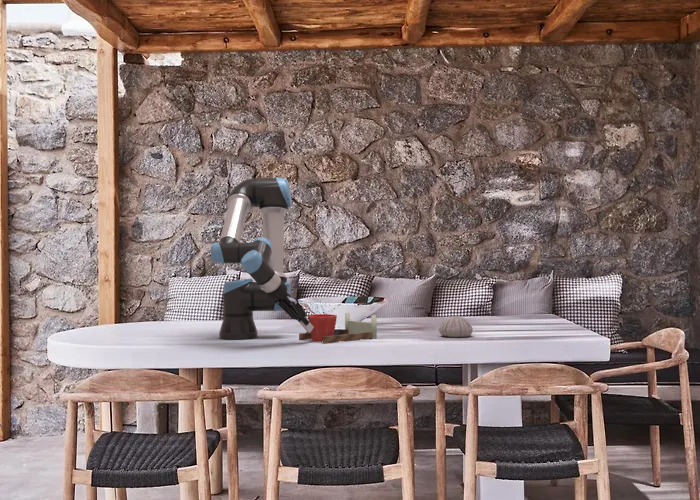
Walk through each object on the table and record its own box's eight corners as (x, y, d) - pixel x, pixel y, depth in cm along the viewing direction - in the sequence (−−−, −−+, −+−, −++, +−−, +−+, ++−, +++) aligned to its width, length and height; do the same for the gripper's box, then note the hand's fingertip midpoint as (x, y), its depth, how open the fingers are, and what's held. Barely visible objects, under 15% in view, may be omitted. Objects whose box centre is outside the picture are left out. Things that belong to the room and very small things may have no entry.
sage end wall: (373, 338, 306) (373, 315, 306) (344, 335, 321) (344, 313, 321) (377, 338, 307) (377, 315, 307) (348, 334, 322) (347, 312, 322)
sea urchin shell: (463, 334, 321) (462, 314, 321) (478, 337, 308) (478, 317, 308) (433, 335, 317) (432, 315, 317) (447, 339, 304) (447, 318, 304)
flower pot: (333, 342, 296) (333, 316, 296) (305, 342, 298) (305, 316, 298) (339, 339, 307) (339, 314, 307) (312, 338, 309) (312, 314, 309)
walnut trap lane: (324, 343, 292) (324, 336, 293) (294, 339, 308) (294, 332, 308) (375, 338, 308) (375, 331, 308) (344, 334, 323) (344, 328, 323)
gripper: (257, 293, 291) (295, 335, 301) (276, 294, 281) (315, 338, 291) (270, 278, 294) (306, 321, 304) (289, 279, 284) (326, 323, 294)
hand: (310, 329), depth 297 cm, fingers closed
